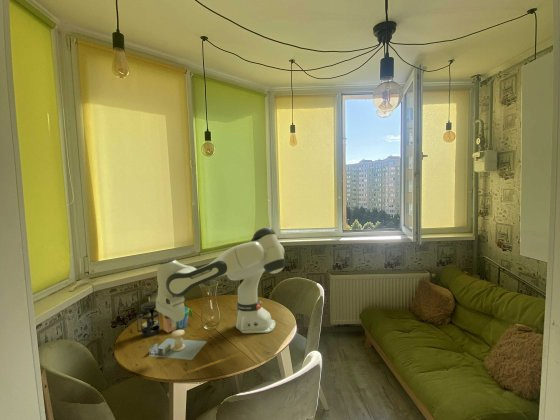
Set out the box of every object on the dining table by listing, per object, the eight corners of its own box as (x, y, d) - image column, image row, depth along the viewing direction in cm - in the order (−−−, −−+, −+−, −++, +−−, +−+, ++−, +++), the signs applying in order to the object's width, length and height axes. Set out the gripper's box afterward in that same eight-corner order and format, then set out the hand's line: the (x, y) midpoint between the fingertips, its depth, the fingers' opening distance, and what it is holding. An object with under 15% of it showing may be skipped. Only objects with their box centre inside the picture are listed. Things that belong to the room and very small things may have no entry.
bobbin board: (207, 343, 143) (206, 326, 143) (191, 362, 127) (191, 343, 127) (167, 340, 147) (166, 323, 147) (148, 358, 131) (147, 339, 131)
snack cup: (170, 336, 152) (169, 317, 151) (162, 329, 160) (161, 311, 159) (197, 326, 162) (196, 308, 162) (188, 320, 170) (188, 303, 170)
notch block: (170, 350, 136) (170, 344, 136) (164, 356, 131) (164, 349, 131) (155, 348, 137) (155, 342, 137) (149, 354, 132) (148, 348, 132)
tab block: (172, 326, 132) (171, 311, 132) (176, 329, 130) (175, 313, 129) (163, 329, 129) (162, 314, 129) (167, 332, 127) (167, 316, 126)
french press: (163, 329, 159) (161, 289, 158) (160, 337, 150) (158, 295, 149) (140, 332, 157) (138, 291, 155) (136, 341, 147) (133, 297, 146)
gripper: (151, 292, 133) (152, 321, 134) (173, 302, 120) (174, 334, 120) (164, 288, 138) (165, 316, 139) (186, 298, 124) (188, 329, 125)
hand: (170, 325), depth 129 cm, fingers closed on tab block, 4 cm apart
